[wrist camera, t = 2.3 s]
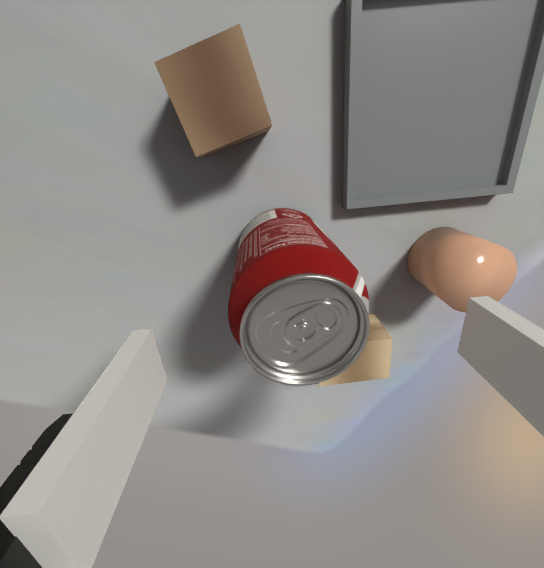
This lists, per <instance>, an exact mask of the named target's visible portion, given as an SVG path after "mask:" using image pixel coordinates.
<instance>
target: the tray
mask: <svg viewBox="0 0 544 568" xmlns="http://www.w3.org/2000/svg"><path fill="white" fill-rule="evenodd" d="M543 72H544V0H346V2H345V65H344V128H343V191H342V207H344V208H345V209H355V208H366V207H376V206H386V205H396V204H406V203H416V202H426V201H436V200H446V199H456V198H466V197H477V196H487V195H497V194H507V193H513V190H514V186H515V182H516V178H517V174H518V170H519V166H520V162H521V158H522V154H523V150H524V147H525V143H526V139H527V135H528V131H529V127H530V123H531V119H532V115H533V111H534V107H535V103H536V100H537V96H538V92H539V88H540V84H541V80H542V76H543Z"/></svg>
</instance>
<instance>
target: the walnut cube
mask: <svg viewBox="0 0 544 568" xmlns="http://www.w3.org/2000/svg"><path fill="white" fill-rule="evenodd" d="M154 63H155V65H156V67H157V70H158V72H159V74H160V76H161V79H162V81H163V83H164V85H165V88H166V90H167V92H168V95H169V97H170V99H171V101H172V104H173V106H174V108H175V110H176V113H177V115H178V117H179V120H180V122H181V124H182V126H183V129H184V131H185V133H186V135H187V138H188V140H189V142H190V145H191V147H192V149H193V151H194V154H195V156H196V157H202V156H209V155H212V154H214V153H217V152H219V151H221V150H224V149H226V148H229V147H231V146H234V145H236V144H238V143H241V142H243V141H246V140H248V139H251V138H253V137H255V136H258V135H260V134H263V133H265V132H268V131H269V129H270V128H271V126H272V123H271V120H270V117H269V114H268V111H267V108H266V105H265V102H264V98H263V95H262V92H261V89H260V86H259V83H258V80H257V77H256V73H255V70H254V67H253V64H252V61H251V58H250V55H249V51H248V48H247V45H246V42H245V39H244V36H243V33H242V30H241V26H240V24H238V25H236V26H234V27H231V28H229V29H227V30H225V31H223V32H220V33H218V34H216V35H214V36H211V37H209V38H207V39H205V40H203V41H200V42H198V43H196V44H194V45H192V46H189V47H187V48H185V49H183V50H181V51H178V52H176V53H174V54H172V55H170V56H167V57H165V58H163V59H161V60H159V61H156V62H154Z"/></svg>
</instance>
